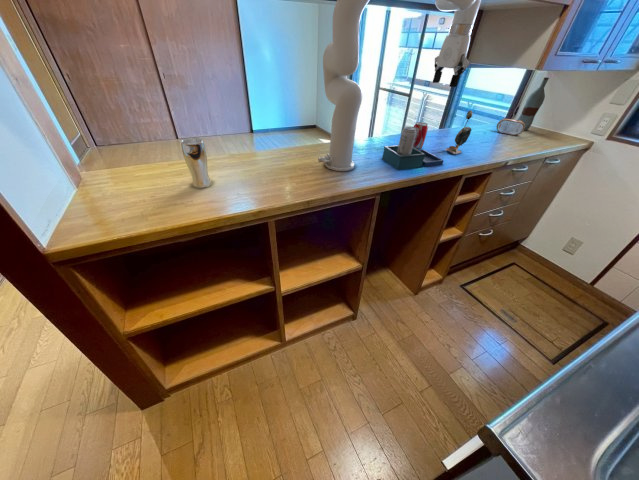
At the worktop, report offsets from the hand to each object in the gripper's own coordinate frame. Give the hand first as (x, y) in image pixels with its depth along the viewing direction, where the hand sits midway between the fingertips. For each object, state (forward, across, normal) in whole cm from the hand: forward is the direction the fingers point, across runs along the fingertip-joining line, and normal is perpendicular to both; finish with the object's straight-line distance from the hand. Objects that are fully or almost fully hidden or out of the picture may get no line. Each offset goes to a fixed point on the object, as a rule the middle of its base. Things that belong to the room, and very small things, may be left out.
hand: (443, 84), depth 107 cm
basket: (+30, +4, -14) cm, 34 cm away
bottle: (+30, -27, +106) cm, 113 cm away
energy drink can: (+30, +4, -14) cm, 34 cm away
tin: (+30, -20, +84) cm, 91 cm away
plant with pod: (+30, -2, +22) cm, 38 cm away
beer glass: (+31, +2, -98) cm, 103 cm away
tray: (+30, +3, -2) cm, 30 cm away
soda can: (+30, -11, +4) cm, 33 cm away
